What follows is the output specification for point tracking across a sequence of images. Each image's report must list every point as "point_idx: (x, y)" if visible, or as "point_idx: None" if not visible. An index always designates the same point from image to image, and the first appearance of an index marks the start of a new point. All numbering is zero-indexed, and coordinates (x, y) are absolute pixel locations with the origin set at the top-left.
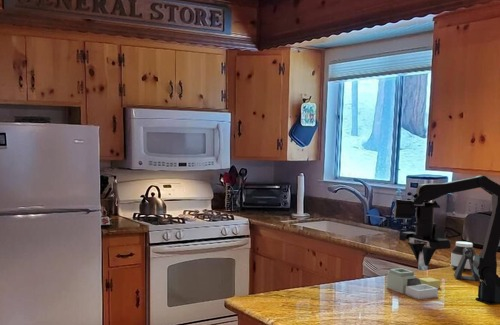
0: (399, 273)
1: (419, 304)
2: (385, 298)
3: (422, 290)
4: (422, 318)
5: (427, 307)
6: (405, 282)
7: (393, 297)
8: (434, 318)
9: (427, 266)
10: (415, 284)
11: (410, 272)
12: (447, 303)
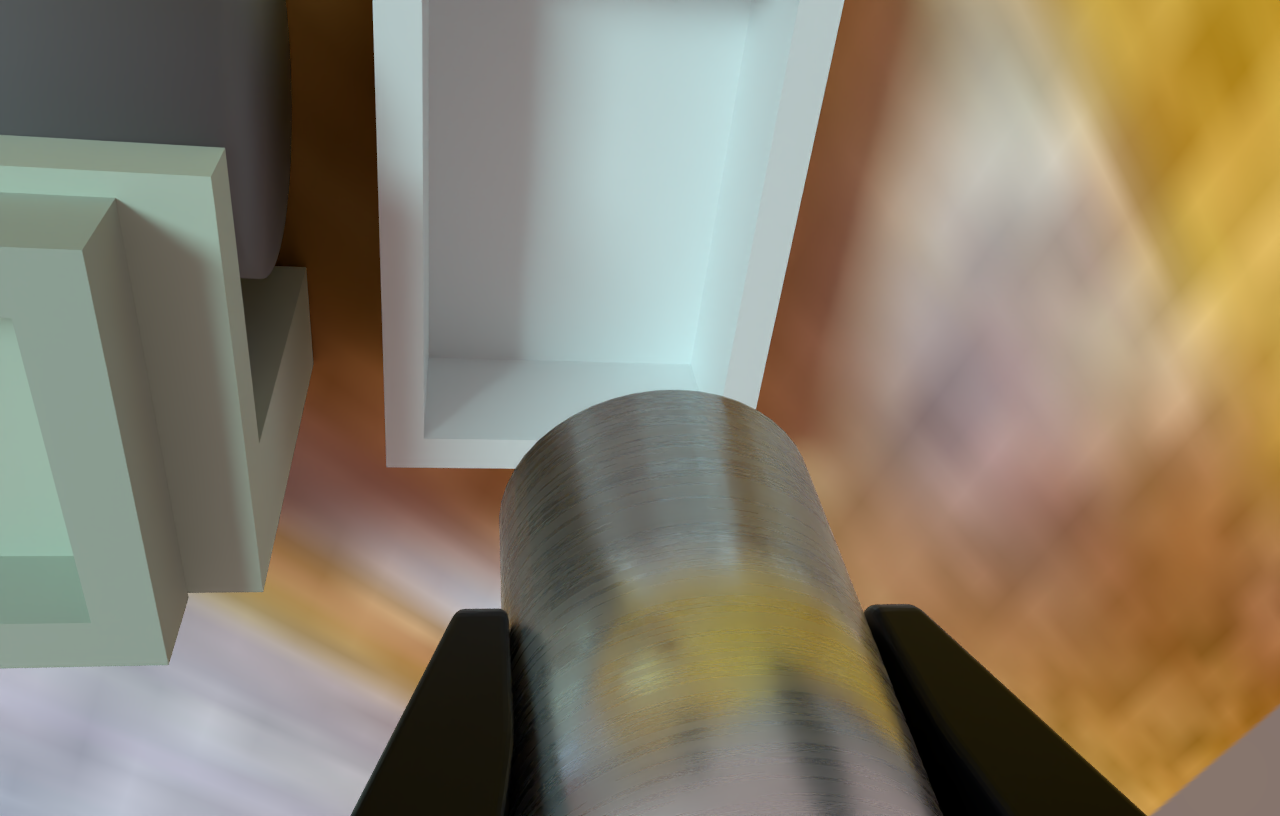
0: (111, 651)
1: (875, 510)
2: None
3: (760, 381)
4: (1157, 762)
5: (1018, 506)
6: (279, 442)
7: (451, 604)
8: (1250, 680)
9: (820, 518)
10: (261, 103)
11: (113, 385)
12: (1147, 67)
